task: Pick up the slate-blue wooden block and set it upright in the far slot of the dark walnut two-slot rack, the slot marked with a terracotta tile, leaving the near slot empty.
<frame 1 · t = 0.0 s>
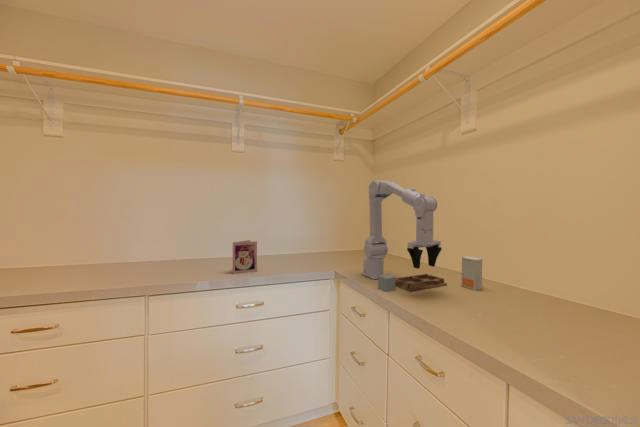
hand: (424, 267, 95), 10 cm above the table, tool pointing down, fingers open, 7 cm apart
slate block: (386, 289, 101), on the table
greeting card: (244, 272, 128), on the table
skincare box: (471, 288, 104), on the table
slot rack: (418, 284, 107), on the table
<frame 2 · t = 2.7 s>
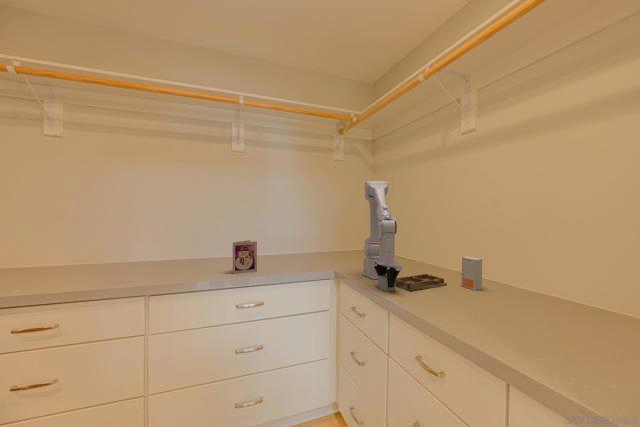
hand: (386, 285, 101), 1 cm above the table, tool pointing down, fingers closed on slate block, 4 cm apart
slate block: (386, 289, 101), on the table, touching gripper
everything else where it was.
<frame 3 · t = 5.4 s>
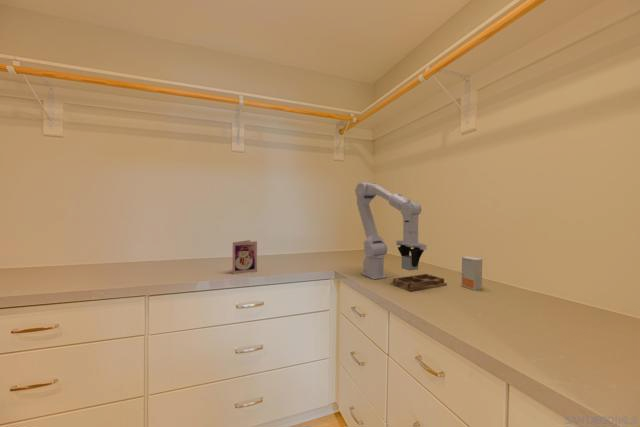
hand: (410, 265, 106), 8 cm above the table, tool pointing down, fingers closed on slate block, 4 cm apart
slate block: (409, 268, 106), point 7 cm above the table, touching gripper
everything else where it was.
when the fingers open (3 cm above the table, at t = 8.2 s): slate block drops 1 cm, resting on slot rack.
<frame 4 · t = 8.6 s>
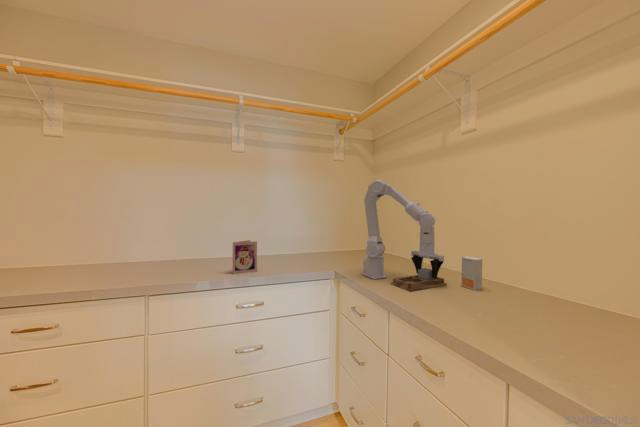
hand: (426, 275, 109), 3 cm above the table, tool pointing down, fingers open, 7 cm apart
slate block: (425, 281, 109), point 1 cm above the table, touching slot rack
everything else where it was.
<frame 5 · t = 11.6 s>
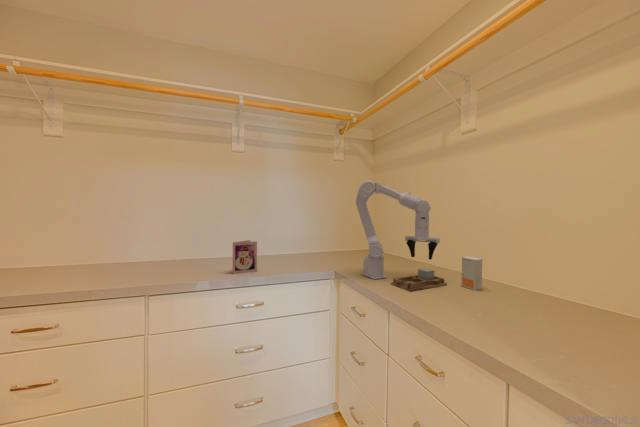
hand: (421, 258, 116), 9 cm above the table, tool pointing down, fingers open, 7 cm apart
nothing on the table moved.
at the end: slate block 0.3 cm from the target spot on the slot rack, point 0.8 cm above the slot rack's base; slate block tilted 0°; the gripper is holding nothing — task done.
